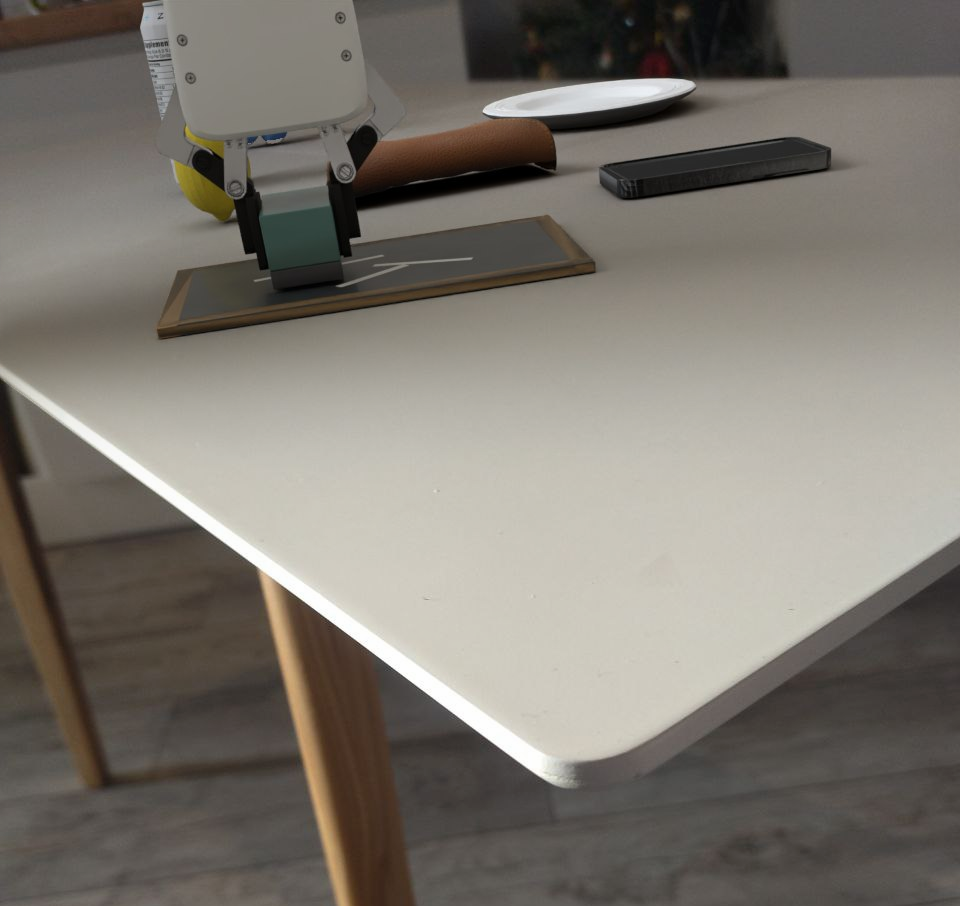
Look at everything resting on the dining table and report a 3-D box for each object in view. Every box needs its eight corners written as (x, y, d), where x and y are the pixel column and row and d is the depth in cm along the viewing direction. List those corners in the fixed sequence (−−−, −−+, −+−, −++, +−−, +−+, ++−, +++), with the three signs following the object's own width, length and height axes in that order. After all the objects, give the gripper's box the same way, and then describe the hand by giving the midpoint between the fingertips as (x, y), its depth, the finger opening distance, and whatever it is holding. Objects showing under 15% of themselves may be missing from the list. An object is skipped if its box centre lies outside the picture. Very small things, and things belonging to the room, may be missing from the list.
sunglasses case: (525, 154, 101) (531, 81, 95) (553, 210, 97) (561, 138, 92) (312, 191, 98) (305, 118, 92) (333, 251, 94) (327, 179, 88)
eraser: (344, 279, 69) (331, 205, 67) (273, 290, 68) (258, 216, 66) (340, 253, 75) (328, 184, 73) (275, 263, 75) (261, 195, 73)
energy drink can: (259, 180, 109) (222, -8, 102) (217, 194, 105) (175, -1, 97) (207, 181, 112) (167, -2, 105) (164, 196, 108) (119, 6, 100)
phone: (595, 165, 89) (795, 134, 89) (596, 181, 89) (795, 151, 90) (620, 182, 82) (837, 149, 83) (621, 199, 82) (836, 166, 83)
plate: (440, 136, 120) (438, 115, 119) (569, 99, 133) (568, 80, 132) (613, 136, 107) (612, 113, 106) (738, 95, 120) (737, 74, 119)
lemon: (262, 221, 92) (239, 107, 88) (188, 234, 91) (162, 118, 87) (258, 209, 96) (236, 100, 92) (188, 221, 96) (162, 111, 92)
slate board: (158, 339, 65) (155, 328, 65) (179, 279, 78) (177, 270, 77) (596, 272, 67) (595, 260, 67) (549, 224, 79) (548, 214, 79)
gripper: (394, -124, 66) (440, 225, 75) (83, -82, 65) (168, 266, 74) (405, -133, 59) (454, 250, 68) (60, -86, 58) (156, 296, 68)
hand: (305, 255), depth 71 cm, fingers closed on eraser, 4 cm apart
